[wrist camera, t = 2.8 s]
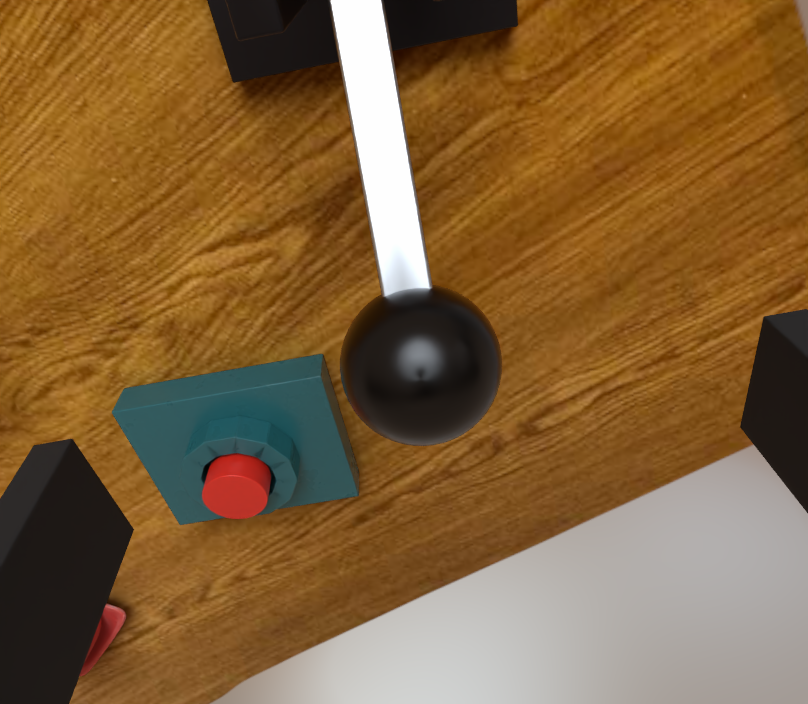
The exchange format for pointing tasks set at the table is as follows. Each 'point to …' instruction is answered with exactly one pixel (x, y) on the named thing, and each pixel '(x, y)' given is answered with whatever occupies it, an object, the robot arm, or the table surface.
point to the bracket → (314, 36)
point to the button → (237, 486)
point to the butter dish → (104, 635)
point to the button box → (243, 433)
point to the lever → (403, 269)
